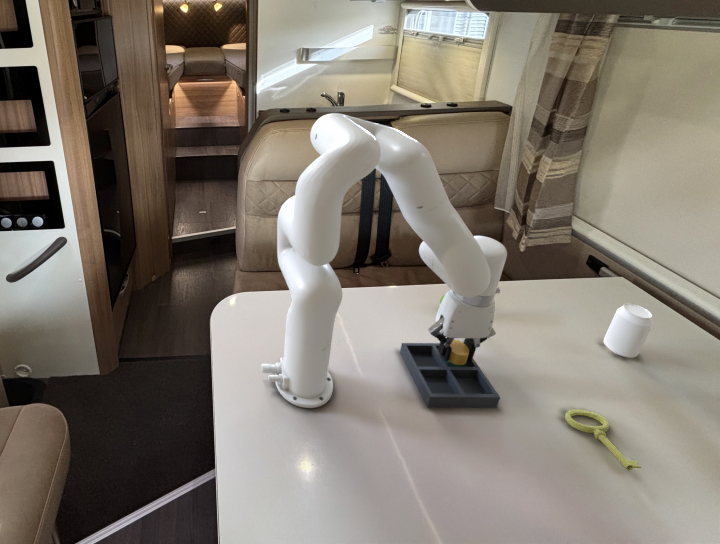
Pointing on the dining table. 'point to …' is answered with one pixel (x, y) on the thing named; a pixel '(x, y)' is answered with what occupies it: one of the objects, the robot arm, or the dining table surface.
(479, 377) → the grid
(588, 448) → the dining table surface
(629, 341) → the beverage can
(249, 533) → the dining table surface
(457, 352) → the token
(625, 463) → the key
